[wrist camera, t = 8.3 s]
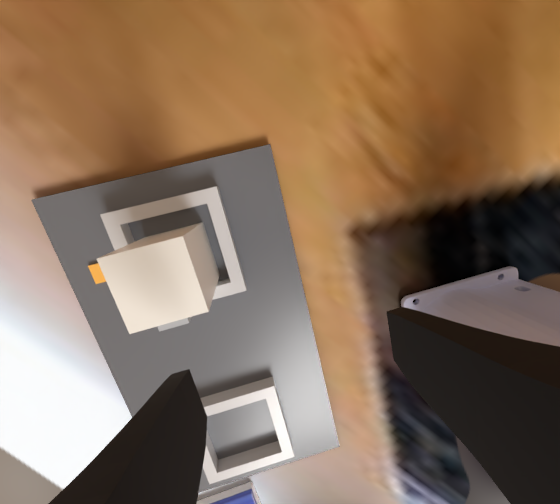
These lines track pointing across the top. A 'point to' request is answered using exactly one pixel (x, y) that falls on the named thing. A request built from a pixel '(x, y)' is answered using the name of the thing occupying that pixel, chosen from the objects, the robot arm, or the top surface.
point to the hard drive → (234, 496)
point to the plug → (162, 278)
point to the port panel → (223, 311)
